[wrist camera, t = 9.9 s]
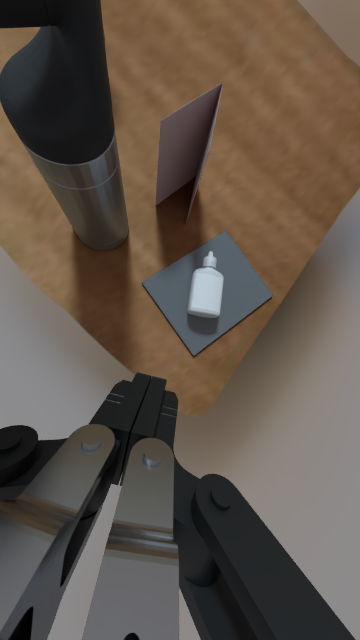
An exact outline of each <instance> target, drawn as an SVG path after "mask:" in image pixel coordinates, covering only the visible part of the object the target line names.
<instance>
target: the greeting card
mask: <svg viewBox="0 0 360 640" xmlns="http://www.w3.org/2000/svg"><path fill="white" fill-rule="evenodd" d="M222 86H223V82H222V83H220V84H219V85H217V86H215V87H214V88H212V89H211V90H209V91H207V92H206V93H204V94H202V95H201V96H199V97H198V98H196V99H194V100H193V101H191V102H189V103H188V104H186V105H185V106H183V107H181V108H180V109H178V110H177V111H175V112H173V113H172V114H170V115H168V116H167V117H165V118H164V119H162V120H161V127H160V143H159V158H158V174H157V189H156V205H157V204H159V203H160V202H162V201H163V200H164V199H166V198H167V197H168V196H170V195H171V194H172V193H174V192H175V191H176V190H178V189H179V188H181V187H182V186H183V185H185V184H186V183H187V182H189V181H190V180H191V179H193V178H194V177H195V176H196V179H195V184H194V189H193V193H192V198H191V203H190V207H189V212H188V217H189V214H190V211H191V207H192V204H193V201H194V198H195V195H196V192H197V188H198V185H199V182H200V179H201V176H202V173H203V169H204V166H205V163H206V160H207V157H208V154H209V150H210V145H211V140H212V135H213V130H214V125H215V121H216V116H217V111H218V106H219V101H220V96H221V91H222ZM156 205H155V206H156ZM188 217H187V220H188ZM186 223H187V222H186Z"/></svg>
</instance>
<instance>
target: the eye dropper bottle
mask: <svg viewBox="0 0 360 640" xmlns="http://www.w3.org/2000/svg"><path fill="white" fill-rule="evenodd" d="M216 262H217V259H216V258H215V257H213V252H212V251H210V252H209V254H208V256H206V257H204V259H203V266H202V268H200V269H197V270H195V271H194V273H193V275H192V281H191V287H190V294H189V302H188V309H187V311H188V313H189V314H192V315H195V316H200V317H207V318H216V317H218V316H219V315H220V310H221V301H222V291H223V281H224V277H223V275H222V274H221V273H219V272H218V271H216Z"/></svg>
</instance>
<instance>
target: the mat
mask: <svg viewBox="0 0 360 640" xmlns="http://www.w3.org/2000/svg"><path fill="white" fill-rule="evenodd" d="M210 251H212V252H213V257H215V258H216V259H217V262H216V271H218V272H219V273H221V274H222V275H223V277H224V281H223V291H222V301H221V310H220V315H219V316H218V317H216V318H207V317H200V316H195V315H192V314H189V313H188V311H187V309H188V302H189V294H190V287H191V281H192V275H193V273H194V271H195V270H197V269H200V268H202V266H203V259H204V257H206V256H208V254H209V252H210ZM142 284H143V285H144V287H145V288H146V290H147V291H148V292H149V294H150V295H151V297H152V298H153V299H154V301H155V302H156V304H157V305H158V307H159V308H160V309H161V311H162V312H163V314H164V315H165V316H166V318H167V319H168V321H169V322H170V324H171V325H172V326H173V328H174V329H175V331H176V332H177V333H178V335H179V336H180V338H181V339H182V341H183V342H184V343H185V345H186V346H187V348H188V349H189V351H190V352H191V353H192V355H193V356H194V355H196V354H197V353H198V352H200V351H201V350H202V349H203V348H205V347H206V346H207V345H209V344H210V343H211V342H213V341H214V340H215V339H217V338H218V337H219V336H221V335H222V334H223V333H225V332H226V331H227V330H228V329H230V328H231V327H232V326H234V325H235V324H236V323H238V322H239V321H240V320H242V319H243V318H244V317H246V316H247V315H248V314H250V313H251V312H252V311H253V310H255V309H256V308H257V307H259V306H260V305H261V304H263V303H264V302H265V301H267V300H268V299H269V298H271V297H272V296H273V295H272V293H271V292H270V291H269V289H268V288H267V286H266V285H265V284H264V282H263V281H262V280H261V278H260V277H259V275H258V274H257V273H256V271H255V270H254V269H253V267H252V266H251V264H250V263H249V262H248V260H247V259H246V258H245V256H244V255H243V253H242V252H241V251H240V249H239V248H238V246H237V245H236V244H235V242H234V241H233V240H232V238H231V237H230V235H229V234H228V233H227V231H224V232H223V233H221V234H220V235H218V236H216V237H215V238H213V239H211V240H210V241H208V242H207V243H205V244H203V245H202V246H200V247H198V248H197V249H195V250H194V251H192V252H190V253H189V254H187V255H185V256H184V257H182V258H181V259H179V260H177V261H176V262H174V263H172V264H171V265H169V266H168V267H166V268H164V269H163V270H161V271H159V272H158V273H156V274H155V275H153V276H151V277H150V278H148V279H146V280H145V281H143V282H142Z"/></svg>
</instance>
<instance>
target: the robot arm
mask: <svg viewBox="0 0 360 640" xmlns="http://www.w3.org/2000/svg"><path fill="white" fill-rule="evenodd" d="M21 27H41V28H40V30H39V31H38V33H37V34H36V36H35V37H34V38H33V39H32V40H31V41H30V42H29V43H28V44H27V45H26V46H25V47H23V48H22V49H21V50H20V51H18V52H17V53H16V54H14V55H13V56H12V57H11V58H10V59H9V60H8V62H7V63H6V64H5V66H4V68H3V70H2V72H1V75H0V101H1V104H2V107H3V109H4V112H5V114H6V115H7V117H8V119H9V121H10V123H11V125H12V126H13V128H14V130H15V131H16V133H17V135H18V136H19V138H20V139H21V141H22V143H23V144H24V146H25V148H26V149H27V151H28V153H29V155H30V156H31V158H32V160H33V161H34V163H35V165H36V166H37V168H38V169H39V171H40V173H41V174H42V176H43V178H44V180H45V181H46V183H47V185H48V186H49V188H50V190H51V191H52V193H53V195H54V196H55V198H56V200H57V202H58V203H59V205H60V207H61V208H62V210H63V212H64V213H65V215H66V217H67V218H68V220H69V222H70V224H71V225H72V227H73V229H74V230H75V232H76V234H77V236H78V237H79V239H80V240H81V241H82V242H83V243H84V244H85V245H87V246H88V247H90V248H92V249H95V250H101V251H104V250H111V249H114V248H116V247H118V246H119V245H121V244H122V243H123V242H124V241H125V239H126V237H127V235H128V219H127V212H126V204H125V197H124V190H123V183H122V176H121V169H120V162H119V155H118V148H117V141H116V134H115V127H114V120H113V114H112V103H111V93H110V85H109V78H108V70H107V62H106V52H105V43H104V33H103V23H102V13H101V2H100V0H0V28H21ZM151 377H152V376H150V375H146V374H142V373H138V372H137V373H136V375H135V377H134V379H133V381H132V382H129V381H125V380H122V381H121V382H119V383H117V384H116V385H115V386H114V387H113V389H112V390H111V392H110V394H109V395H108V396H107V398H106V400H105V401H104V402H103V404H102V405H101V407H100V408H99V409H98V411H97V412H96V414H95V416H94V417H93V418H92V420H91V422H90V423H89V425H86V426H83V427H81V428H79V429H77V430H76V431H74V432H73V433H72V434H71V435H70V437H69V438H66V439H60V440H40V441H39V440H38V434H37V432H36V431H35V430H34V429H33V428H31V427H28V426H24V425H17V426H9V427H5V428H2V429H0V640H47V637H48V635H49V633H50V629H51V627H52V625H53V622H54V619H55V616H56V613H57V610H58V607H59V604H60V601H61V599H62V596H63V593H64V591H65V589H66V587H67V584H68V582H69V580H70V578H71V575H72V573H73V571H74V569H75V567H76V564H77V562H78V560H79V558H80V556H81V553H82V551H83V549H84V547H85V545H86V543H87V540H88V538H89V536H90V534H91V531H92V529H93V527H94V525H95V523H96V520H97V518H98V516H99V514H100V512H101V509H102V505H103V502H104V500H105V498H106V496H107V493H108V491H109V488H110V485H111V484H115V485H118V483H119V481H120V478H121V475H122V478H121V483H120V486H122V488H121V492H120V495H119V499H118V503H117V507H116V511H115V515H114V519H113V523H112V527H111V531H110V533H109V537H108V541H107V544H106V548H105V552H104V555H103V559H102V563H101V567H100V571H99V575H98V579H97V583H96V587H95V591H94V595H93V598H92V602H91V606H90V611H89V614H88V618H87V622H86V626H85V630H84V634H83V637H82V640H179V587H180V589H181V592H182V594H183V597H184V599H185V601H186V604H187V607H188V609H189V611H190V614H191V616H192V619H193V621H194V624H195V626H196V629H197V631H198V634H199V636H200V638H201V640H355V639H354V637H353V636H352V635H351V634H350V632H349V631H348V630H347V628H346V627H345V626H344V624H343V623H342V622H341V621H340V619H338V617H337V616H336V615H335V613H334V612H333V610H332V609H331V608H330V607H329V605H328V604H327V603H326V602H325V600H324V599H323V598H322V596H321V595H320V594H319V593H318V591H317V590H316V589H315V588H314V586H313V585H312V584H311V582H310V581H309V580H308V579H307V577H306V576H305V575H304V573H303V572H302V571H301V570H300V568H299V567H298V566H297V565H296V563H295V562H294V561H293V559H292V558H291V557H290V556H289V554H288V553H287V552H286V551H285V549H284V548H283V547H282V545H281V544H280V543H279V542H278V540H277V539H276V538H275V537H274V535H273V534H272V533H271V531H270V530H269V529H268V528H267V526H266V525H265V524H264V522H263V521H262V520H261V519H260V517H259V516H258V515H257V514H256V512H255V511H254V510H253V509H252V507H251V506H250V505H249V503H248V502H247V501H246V500H245V498H244V497H243V496H242V494H241V493H240V492H239V491H238V489H237V488H236V487H235V486H234V485H233V484H232V483H231V482H230V481H229V480H228V479H226V478H225V477H223V476H220V475H217V474H208V475H205V476H203V477H202V478H201V479H199V478H197V477H195V476H194V475H192V474H191V473H189V472H188V471H186V470H185V469H184V468H183V467H182V466H181V465H180V464H179V463H178V461H177V460H176V458H175V455H174V451H173V444H174V436H175V427H176V417H177V409H178V399H177V396H176V394H175V393H174V392H170V391H166V390H165V385H166V381H167V380H166V379H162V378H158V377H154V376H153V377H152V379H151ZM122 472H123V473H122Z"/></svg>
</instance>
